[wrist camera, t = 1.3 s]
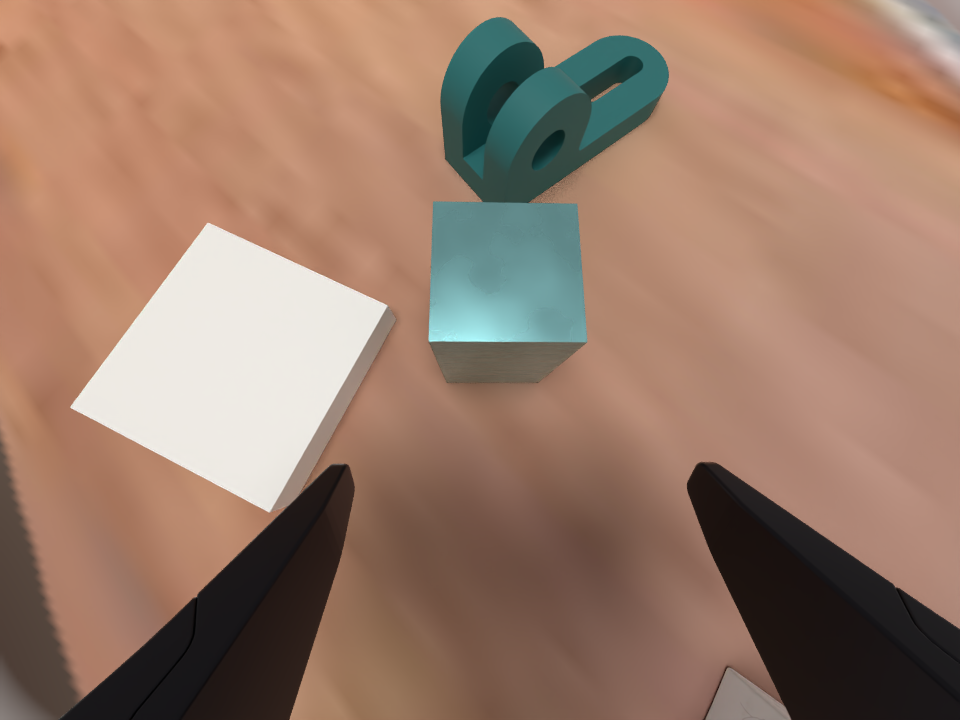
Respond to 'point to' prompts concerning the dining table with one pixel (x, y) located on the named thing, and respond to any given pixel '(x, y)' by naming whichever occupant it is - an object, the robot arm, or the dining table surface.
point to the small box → (744, 701)
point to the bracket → (540, 108)
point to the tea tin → (505, 290)
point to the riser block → (239, 367)
